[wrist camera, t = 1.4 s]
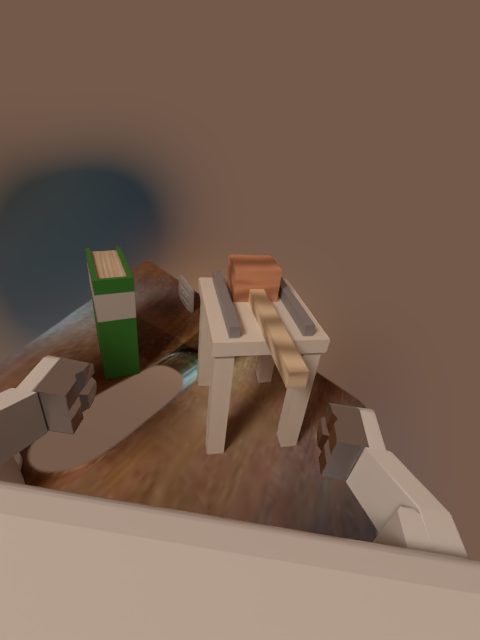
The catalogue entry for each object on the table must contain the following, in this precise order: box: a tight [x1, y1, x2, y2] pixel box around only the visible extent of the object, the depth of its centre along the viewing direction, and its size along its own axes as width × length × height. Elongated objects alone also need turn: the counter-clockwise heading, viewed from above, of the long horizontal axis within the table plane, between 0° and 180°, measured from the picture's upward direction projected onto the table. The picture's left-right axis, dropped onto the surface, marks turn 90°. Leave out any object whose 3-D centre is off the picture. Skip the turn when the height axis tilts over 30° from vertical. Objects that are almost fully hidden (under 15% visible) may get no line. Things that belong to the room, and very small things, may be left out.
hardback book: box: [85, 247, 140, 380], centre depth 77 cm, size 18×7×24 cm, turn 25°
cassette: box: [179, 275, 194, 313], centre depth 106 cm, size 12×2×8 cm, turn 26°
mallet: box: [227, 255, 309, 388], centre depth 52 cm, size 29×8×6 cm, turn 11°
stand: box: [197, 270, 330, 454], centre depth 65 cm, size 22×18×27 cm
